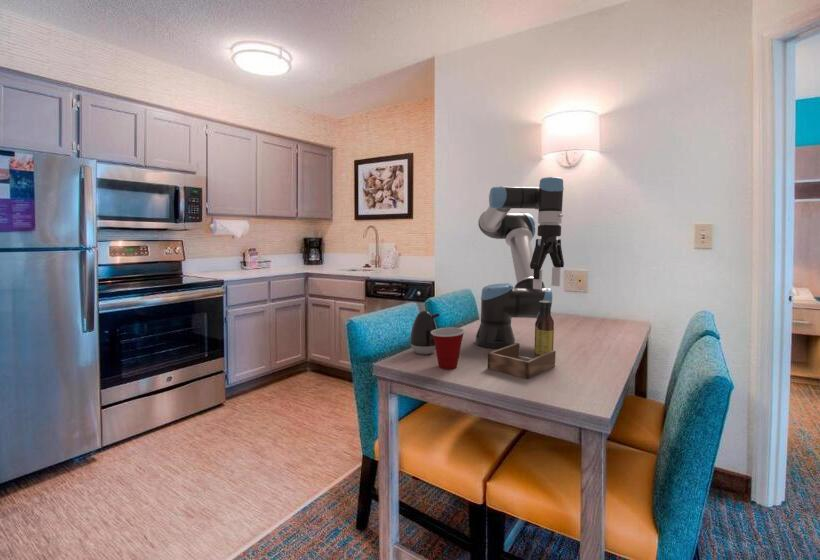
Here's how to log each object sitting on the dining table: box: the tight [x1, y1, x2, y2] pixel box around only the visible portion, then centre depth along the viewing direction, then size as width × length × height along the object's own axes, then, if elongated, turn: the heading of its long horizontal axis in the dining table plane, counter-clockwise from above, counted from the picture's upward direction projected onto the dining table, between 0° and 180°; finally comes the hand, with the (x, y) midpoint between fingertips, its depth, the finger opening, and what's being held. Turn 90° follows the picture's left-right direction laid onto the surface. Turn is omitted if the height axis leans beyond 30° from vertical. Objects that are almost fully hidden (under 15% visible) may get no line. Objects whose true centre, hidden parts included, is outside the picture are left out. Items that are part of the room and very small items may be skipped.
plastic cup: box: [431, 326, 466, 370], centre depth 133 cm, size 11×11×12 cm
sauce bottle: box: [534, 301, 555, 358], centre depth 144 cm, size 7×6×20 cm
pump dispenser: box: [409, 310, 440, 355], centre depth 149 cm, size 10×10×15 cm
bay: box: [486, 342, 556, 380], centre depth 134 cm, size 14×18×5 cm
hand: (546, 287), depth 143 cm, fingers open, 13 cm apart
